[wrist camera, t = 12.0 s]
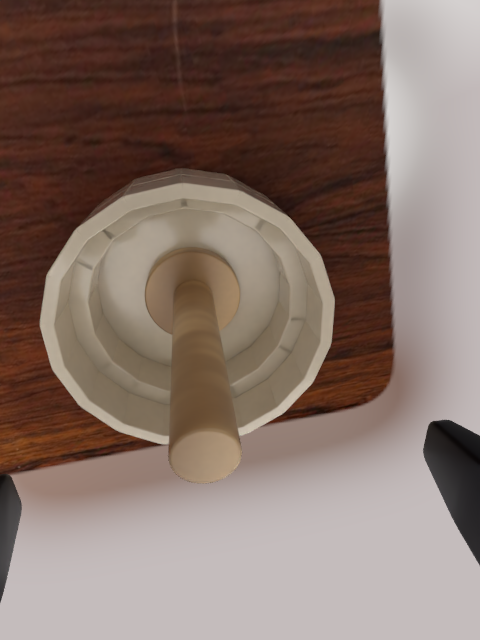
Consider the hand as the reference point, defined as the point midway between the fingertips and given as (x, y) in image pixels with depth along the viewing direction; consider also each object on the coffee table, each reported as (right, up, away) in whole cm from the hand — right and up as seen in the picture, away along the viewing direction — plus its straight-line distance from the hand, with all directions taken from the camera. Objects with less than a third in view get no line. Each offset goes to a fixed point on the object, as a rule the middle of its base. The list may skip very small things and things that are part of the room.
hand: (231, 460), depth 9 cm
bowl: (-2, +5, +11) cm, 12 cm away
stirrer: (-2, +4, +11) cm, 12 cm away
